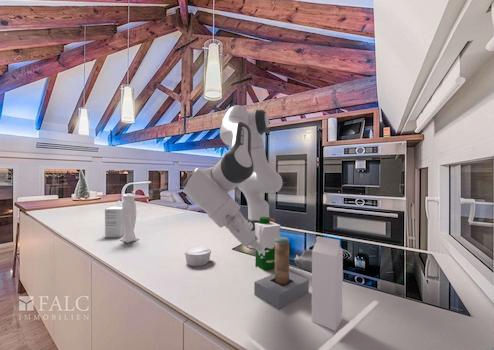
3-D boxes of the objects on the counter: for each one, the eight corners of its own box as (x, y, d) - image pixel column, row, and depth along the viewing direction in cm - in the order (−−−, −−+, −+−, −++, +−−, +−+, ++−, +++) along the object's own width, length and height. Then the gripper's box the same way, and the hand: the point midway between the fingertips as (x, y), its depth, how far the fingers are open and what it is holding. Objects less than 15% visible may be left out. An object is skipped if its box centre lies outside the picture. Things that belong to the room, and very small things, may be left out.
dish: (293, 270, 92) (293, 258, 92) (298, 258, 105) (298, 247, 105) (332, 276, 87) (332, 263, 87) (332, 263, 100) (332, 251, 100)
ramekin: (205, 268, 94) (205, 255, 94) (179, 266, 96) (179, 253, 96) (214, 258, 105) (214, 246, 105) (191, 256, 107) (191, 245, 107)
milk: (319, 313, 64) (320, 233, 64) (342, 322, 60) (343, 237, 60) (311, 325, 59) (311, 238, 59) (335, 335, 55) (336, 242, 55)
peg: (281, 288, 76) (281, 236, 75) (291, 293, 72) (292, 239, 72) (271, 293, 73) (271, 238, 73) (282, 298, 69) (282, 242, 69)
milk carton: (270, 262, 100) (270, 216, 100) (282, 270, 92) (283, 219, 92) (252, 266, 96) (252, 217, 96) (263, 274, 88) (264, 222, 88)
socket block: (284, 283, 81) (284, 269, 81) (308, 295, 73) (308, 279, 73) (254, 297, 72) (254, 281, 72) (278, 312, 64) (279, 294, 64)
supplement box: (112, 233, 147) (112, 206, 146) (127, 232, 148) (127, 206, 147) (104, 237, 137) (104, 208, 137) (121, 237, 138) (120, 208, 138)
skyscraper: (140, 240, 132) (140, 190, 131) (127, 244, 125) (126, 191, 125) (132, 238, 136) (132, 190, 136) (118, 241, 129) (118, 191, 129)
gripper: (235, 211, 60) (272, 248, 61) (232, 201, 81) (260, 229, 82) (218, 228, 60) (255, 265, 61) (219, 214, 80) (247, 242, 81)
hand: (258, 244), depth 72 cm, fingers open, 8 cm apart
